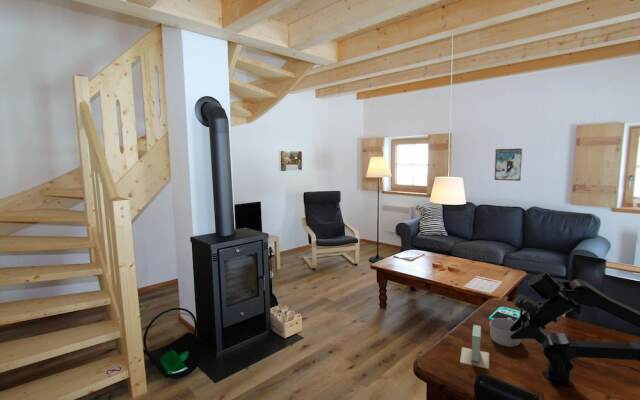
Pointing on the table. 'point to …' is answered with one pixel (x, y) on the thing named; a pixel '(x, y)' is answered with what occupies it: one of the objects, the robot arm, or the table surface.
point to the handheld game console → (505, 314)
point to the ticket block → (467, 355)
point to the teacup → (503, 332)
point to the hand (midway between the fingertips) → (510, 334)
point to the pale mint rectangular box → (476, 344)
